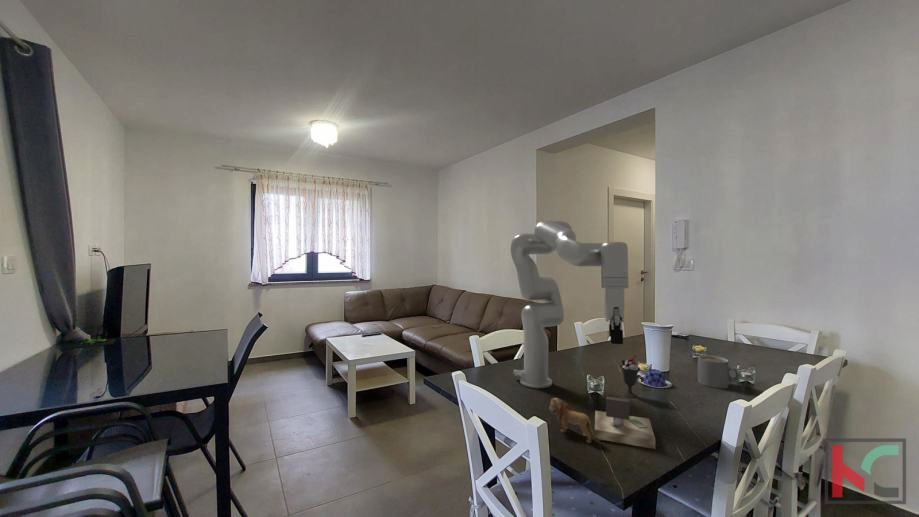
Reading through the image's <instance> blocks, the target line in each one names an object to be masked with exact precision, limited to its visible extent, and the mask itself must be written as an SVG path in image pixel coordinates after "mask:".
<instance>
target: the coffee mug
mask: <svg viewBox="0 0 919 517" xmlns="http://www.w3.org/2000/svg"><path fill="white" fill-rule="evenodd" d="M729 361H730V360H728V359H727V358H725V357H722V356H717V355H709V354H708V355H707V354H705V355H704V354H702V355H701V354H700V355H698V356H697V383H699V384H700V383H701V384H700V385H702V384H703V385H702V386H704V385H706V386H705V387H708V386H709V387H708V388H714V389H728V388H729V384H730V383H734V382H737V381H739V380H740V379H741V371H740V369H739V368H738V367H737V366H735V365H732V364H730V362H729ZM731 370H733V371H734V372H735V376H734V377H732V376H730V371H731Z"/></svg>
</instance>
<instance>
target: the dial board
mask: <svg viewBox="0 0 919 517" xmlns="http://www.w3.org/2000/svg"><path fill="white" fill-rule="evenodd" d="M594 413H595V414H594V435H595V437H596V438H598V439H599V440H600V441H607V442H608V441H609V442H612V443H619V444H625V445H631V446H635V447H641V448H646V449H647V448H648V449H652V450H656V437H655V433H654V431H653V426H652V422H651V420H650V418H648V417H640V416H634V415H629V420H627V419H622V425H621V426H616V425H614V424H613V417H607V416H606V411H600V410H595V411H594Z"/></svg>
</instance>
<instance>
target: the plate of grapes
mask: <svg viewBox="0 0 919 517" xmlns="http://www.w3.org/2000/svg"><path fill="white" fill-rule="evenodd" d="M643 377H644V381H643V382H641V379H640V378H641V377H638V378H637V381H638V383H640V384H642V385H645V386H647V387H651V388H657V389H664V388H665V389H667V388H671V387H672V386H673V384H672V383H671V382H670V381H668V380H666V378H665V374H664V372H663V371H661V370H658V369H655V368H648V369H646V371H645V373H644V376H643ZM666 384H667V385H666Z"/></svg>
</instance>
